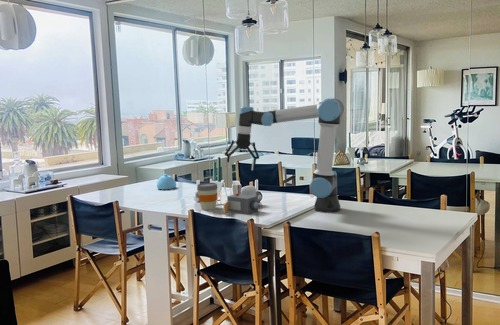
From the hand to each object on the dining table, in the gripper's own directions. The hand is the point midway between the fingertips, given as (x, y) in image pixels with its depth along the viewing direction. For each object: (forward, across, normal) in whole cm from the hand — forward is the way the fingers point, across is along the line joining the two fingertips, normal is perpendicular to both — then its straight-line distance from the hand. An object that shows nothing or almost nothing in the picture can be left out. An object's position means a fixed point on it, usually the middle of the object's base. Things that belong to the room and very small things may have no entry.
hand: (240, 169), depth 276 cm
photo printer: (+26, -8, -16) cm, 31 cm away
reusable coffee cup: (+29, +17, -12) cm, 36 cm away
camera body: (+25, -5, 0) cm, 26 cm away
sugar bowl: (+39, +55, -89) cm, 112 cm away
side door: (+26, +6, +4) cm, 27 cm away
